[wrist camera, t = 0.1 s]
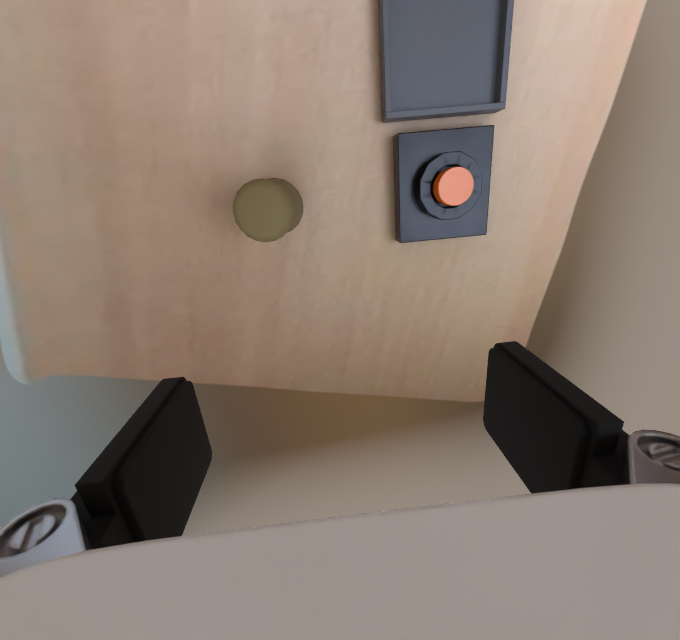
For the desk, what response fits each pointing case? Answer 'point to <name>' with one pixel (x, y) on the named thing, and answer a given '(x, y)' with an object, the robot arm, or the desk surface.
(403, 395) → the desk surface
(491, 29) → the tray
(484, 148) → the control block
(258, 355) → the desk surface
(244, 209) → the olive rounded lobed piece
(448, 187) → the button
